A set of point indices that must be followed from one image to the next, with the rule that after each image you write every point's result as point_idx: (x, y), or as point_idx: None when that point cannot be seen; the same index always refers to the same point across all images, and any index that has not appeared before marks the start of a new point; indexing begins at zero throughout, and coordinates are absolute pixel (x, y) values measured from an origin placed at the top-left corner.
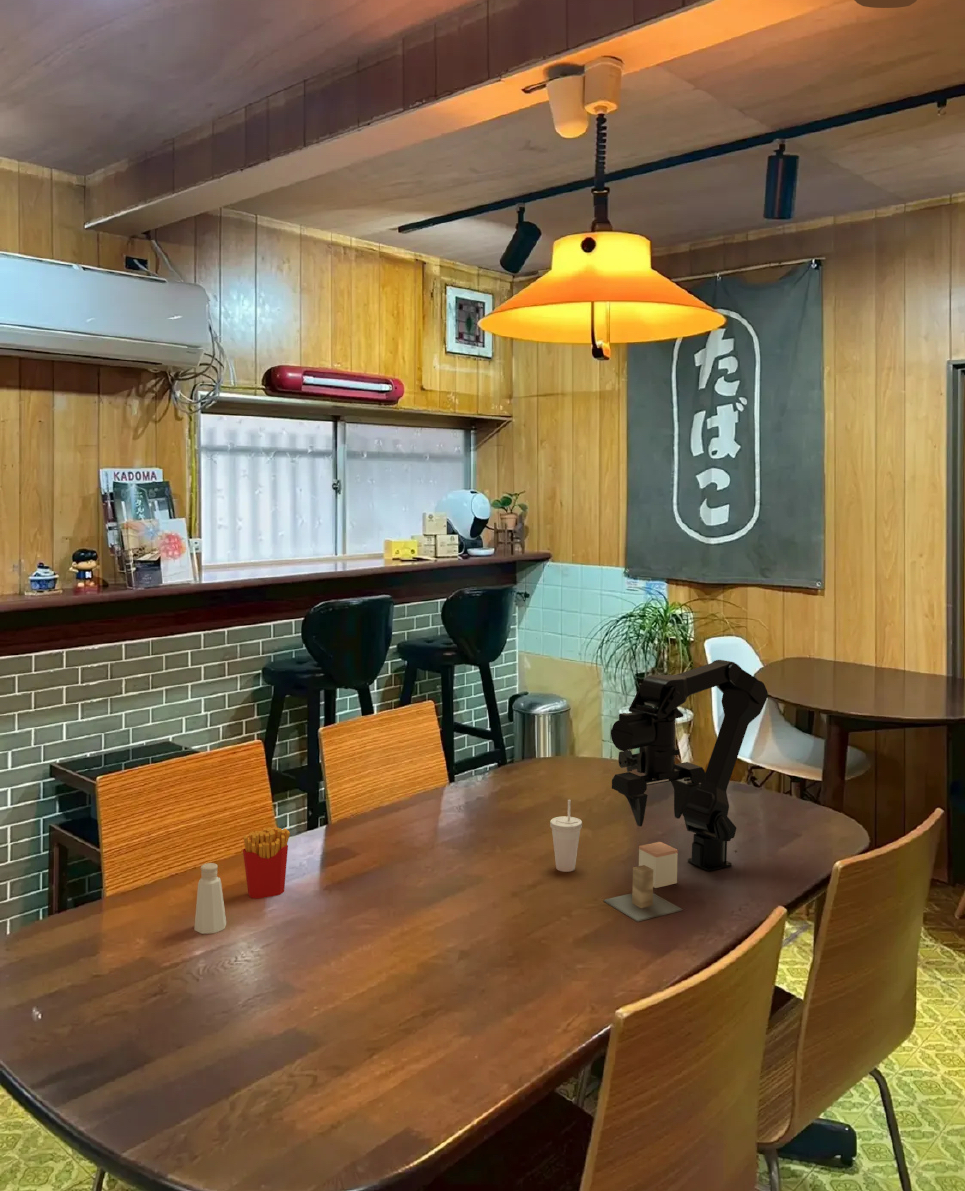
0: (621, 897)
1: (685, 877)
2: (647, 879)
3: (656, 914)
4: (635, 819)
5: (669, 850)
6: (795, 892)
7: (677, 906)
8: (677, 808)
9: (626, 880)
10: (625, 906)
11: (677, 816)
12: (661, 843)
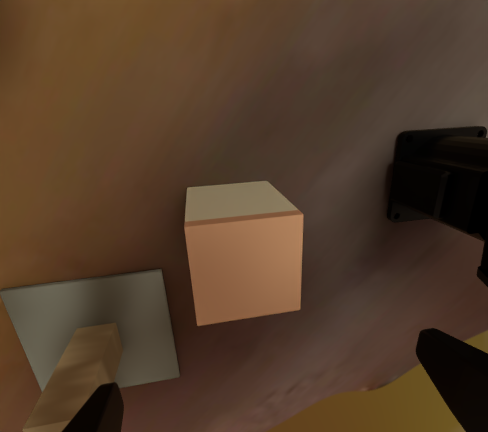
0: (62, 293)
1: (312, 226)
2: None
3: None
4: (68, 428)
5: (268, 307)
6: None
7: (177, 366)
8: (477, 404)
9: (145, 182)
10: (48, 340)
11: (425, 358)
12: (292, 234)
